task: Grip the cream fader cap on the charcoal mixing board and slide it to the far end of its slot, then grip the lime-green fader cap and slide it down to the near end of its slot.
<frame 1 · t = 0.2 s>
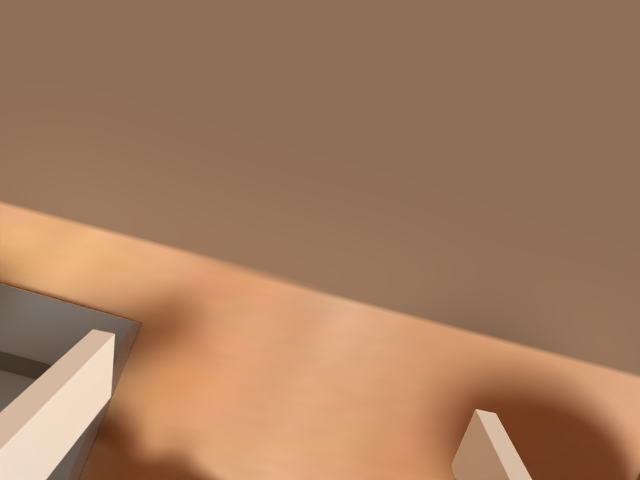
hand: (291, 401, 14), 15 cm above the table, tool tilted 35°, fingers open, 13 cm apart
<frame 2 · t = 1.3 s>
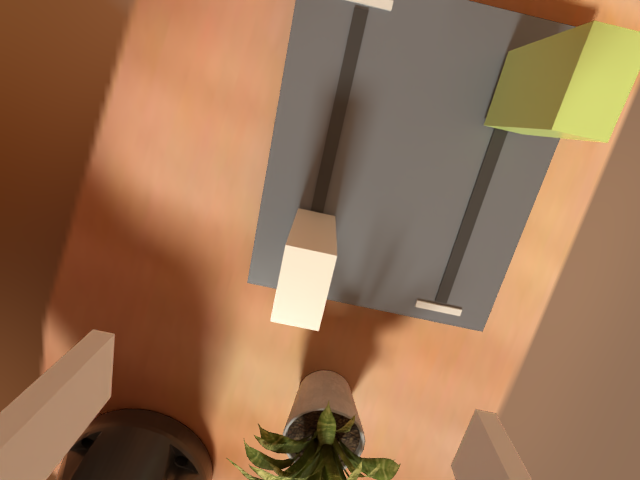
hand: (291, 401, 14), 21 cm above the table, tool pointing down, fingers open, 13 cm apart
fader lime: (550, 90, 23), point 7 cm above the table, slide at 7.0 cm
mixing board: (400, 168, 31), on the table
fader cream: (307, 261, 27), point 7 cm above the table, slide at -7.0 cm
house plant: (334, 383, 38), on the table
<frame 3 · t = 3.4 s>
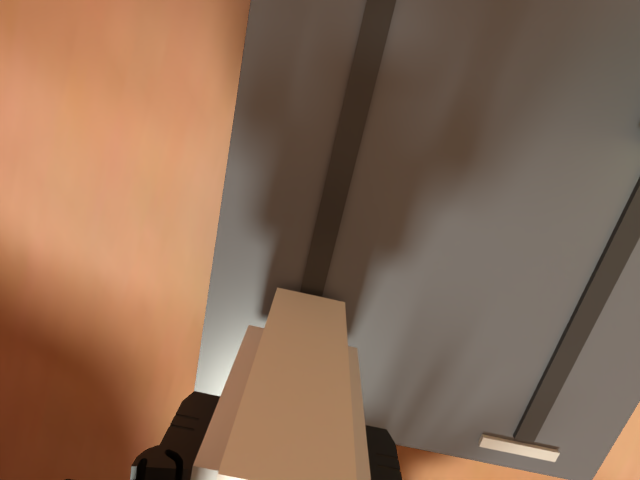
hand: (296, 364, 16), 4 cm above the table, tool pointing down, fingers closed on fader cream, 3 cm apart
mixing board: (461, 212, 18), on the table
fader cream: (288, 418, 13), point 7 cm above the table, slide at -7.0 cm, touching gripper
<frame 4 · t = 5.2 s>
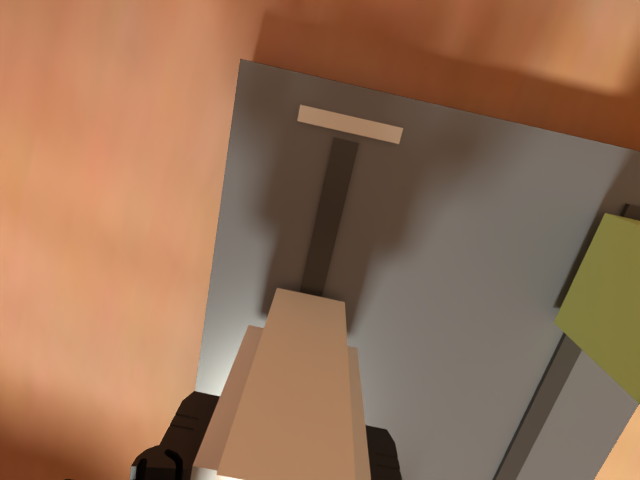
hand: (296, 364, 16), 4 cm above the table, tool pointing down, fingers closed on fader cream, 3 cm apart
mixing board: (411, 353, 20), on the table
fader cream: (288, 418, 13), point 7 cm above the table, slide at 0.9 cm, touching gripper
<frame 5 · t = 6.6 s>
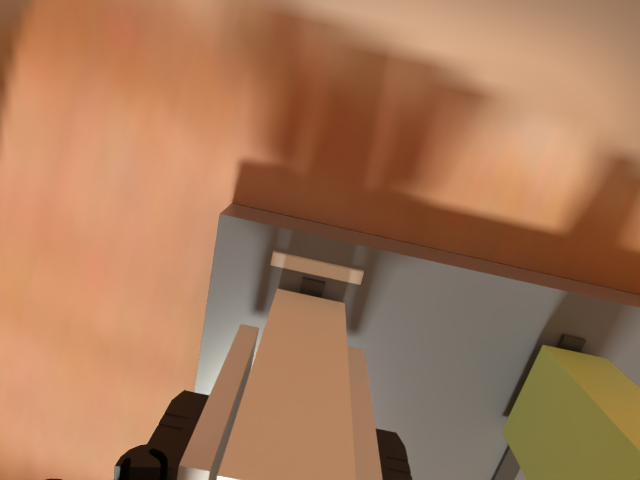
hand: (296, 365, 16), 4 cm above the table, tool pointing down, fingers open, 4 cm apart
mixing board: (380, 441, 22), on the table
fader cream: (288, 419, 13), point 7 cm above the table, slide at 6.9 cm
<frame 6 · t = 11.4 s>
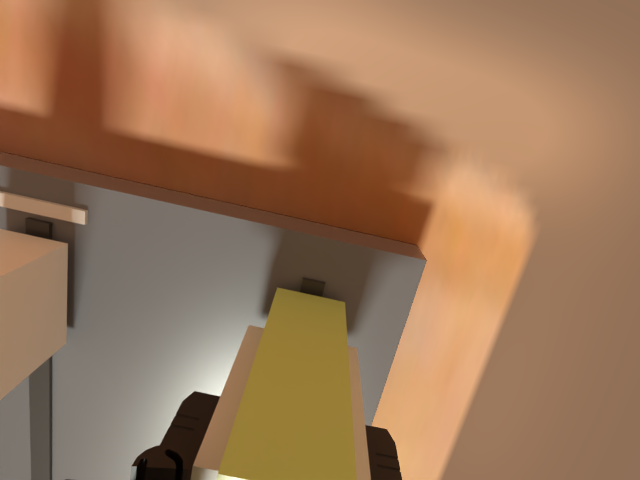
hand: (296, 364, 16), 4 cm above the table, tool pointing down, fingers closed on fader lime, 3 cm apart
fader lime: (288, 418, 13), point 7 cm above the table, slide at 7.0 cm, touching gripper
mixing board: (174, 400, 22), on the table
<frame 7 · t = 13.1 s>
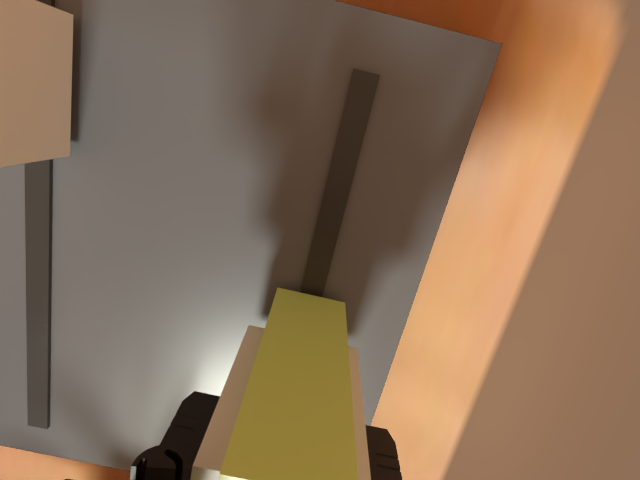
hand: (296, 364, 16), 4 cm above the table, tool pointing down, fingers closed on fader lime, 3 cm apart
fader lime: (288, 418, 13), point 7 cm above the table, slide at -1.6 cm, touching gripper
mixing board: (191, 261, 19), on the table
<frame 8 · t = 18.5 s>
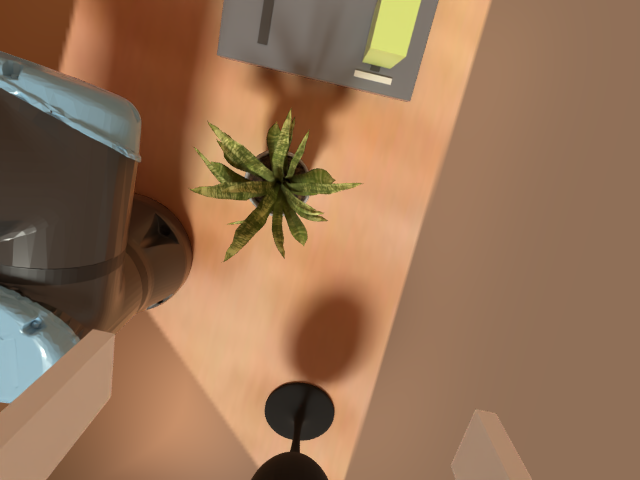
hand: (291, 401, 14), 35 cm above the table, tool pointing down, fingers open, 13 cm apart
fader lime: (388, 30, 35), point 7 cm above the table, slide at -7.0 cm
wine glass: (299, 410, 57), on the table
house plant: (293, 167, 46), on the table
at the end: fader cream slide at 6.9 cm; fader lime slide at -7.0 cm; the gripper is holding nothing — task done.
